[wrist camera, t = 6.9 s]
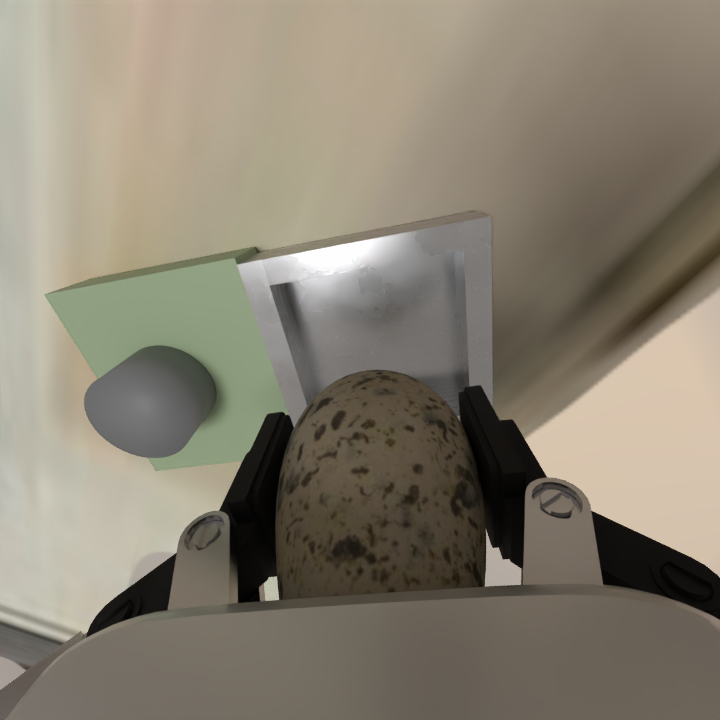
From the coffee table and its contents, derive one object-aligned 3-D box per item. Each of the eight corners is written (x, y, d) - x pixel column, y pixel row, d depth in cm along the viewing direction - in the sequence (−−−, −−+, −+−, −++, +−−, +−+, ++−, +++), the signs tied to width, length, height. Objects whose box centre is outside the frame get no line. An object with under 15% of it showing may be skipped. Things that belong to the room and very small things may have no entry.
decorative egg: (295, 440, 15) (185, 800, 6) (321, 320, 12) (190, 653, 4) (422, 468, 16) (483, 838, 7) (472, 357, 13) (685, 734, 4)
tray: (473, 210, 17) (491, 216, 14) (478, 398, 22) (492, 428, 19) (257, 252, 18) (236, 264, 16) (309, 419, 23) (301, 450, 21)
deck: (255, 246, 18) (205, 274, 13) (311, 423, 24) (292, 493, 18) (89, 278, 19) (-19, 316, 14) (179, 439, 25) (125, 510, 19)
